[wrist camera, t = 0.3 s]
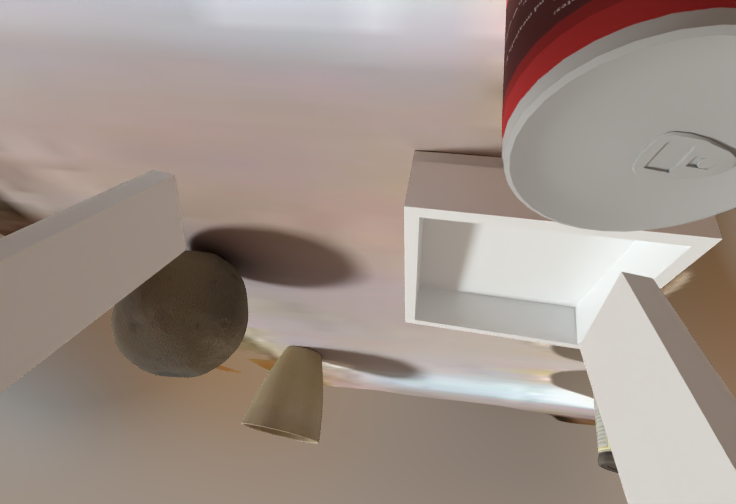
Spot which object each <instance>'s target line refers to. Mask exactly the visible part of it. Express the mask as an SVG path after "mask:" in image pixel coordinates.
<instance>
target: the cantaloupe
mask: <svg viewBox="0 0 736 504" xmlns="http://www.w3.org/2000/svg"><path fill="white" fill-rule="evenodd" d="M111 321H112V331H113V336H114V340H115V343H116V345H117V347H118V349H119V351H120V352H121V353H122V354H123V355H124V356H125V357H126V358H127V359H129V360H130V361H131V362H132V363H133V364H134V365H136V366H138V367H139V368H141V369H142V370H144V371H147V372H149V373H152V374H155V375H159V376H168V377H187V378H188V377H196V376H200V375H203V374H205V373H207V372H209V371H211V370H213V369H215V368H216V367H218V366H219V365H221V364H222V363H223V362H225V361H226V360H227V359H228V358H229V357H230V356H231V355H232V354H233V353H234V352H235V350H236V349H237V348H238V347H239V345H240V343H241V341H242V339H243V337H244V335H245V332H246V328H247V323H248V303H247V293H246V288H245V285H244V282H243V280H242V278H241V276H240V275H239V273H238V271H237V270H236V269H235V268H234V267H233V266H232V265H231V264H230V263H228V262H227V261H226V260H224V259H223V258H221V257H220V256H218V255H216V254H213V253H210V252H202V251H184V252H183V253H181V254H180V255H179V256H177V257H176V258H175V259H174V260H172V261H171V262H170V263H168V264H167V265H166V266H165V267H163V268H162V269H161V270H159V271H158V272H157V273H155V274H154V275H153V276H152V277H150V278H149V279H148V280H146V281H145V282H144V283H143V284H141V285H140V286H139V287H137V288H136V289H135V290H133V291H132V292H131V293H130V294H128V295H127V296H126V297H124V298H123V299H122V300H121V301H119V302H118V303H117V304H115V306H114V309H113V313H112V319H111Z"/></svg>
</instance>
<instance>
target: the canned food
mask: <svg viewBox="0 0 736 504" xmlns="http://www.w3.org/2000/svg"><path fill="white" fill-rule="evenodd" d="M502 159H503V163H504V172H505V175H506V179H507V182H508V185H509V186H510V188H511V190H512V191H513V193H514V194H515V196H516V197H517V198H518V199H519V200H520V201H521V202H522V203H523V204H524V205H526V206H527V207H528V208H529V209H531V210H532V211H534V212H536V213H537V214H539V215H541V216H542V217H545V218H547V219H550V220H552V221H555V222H557V223H560V224H564V225H568V226H572V227H576V228H580V229H589V230H597V231H620V232H628V231H642V230H654V229H660V228H666V227H672V226H678V225H682V224H686V223H690V222H694V221H698V220H702V219H706V218H709V217H712V216H715V215H718V214H720V213H723V212H726V211H729V210H732V209H735V208H736V0H507V5H506V32H505V58H504V84H503V110H502Z"/></svg>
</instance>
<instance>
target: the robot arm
mask: <svg viewBox="0 0 736 504" xmlns="http://www.w3.org/2000/svg"><path fill="white" fill-rule="evenodd" d="M185 250H187V249H186V243H185V236H184V230H183V223H182V217H181V211H180V204H179V198H178V192H177V185H176V179H175V175H174V174H170V173H165V172H160V171H156V170H152V171H150V172H147V173H145V174H143V175H141V176H138V177H136V178H134V179H132V180H130V181H127V182H125V183H123V184H121V185H118V186H116V187H114V188H112V189H109V190H107V191H105V192H103V193H101V194H98V195H96V196H94V197H92V198H89V199H87V200H85V201H83V202H81V203H78V204H76V205H74V206H72V207H69V208H67V209H65V210H63V211H61V212H58V213H56V214H54V215H52V216H49V217H47V218H45V219H43V220H41V221H38V222H36V223H34V224H32V225H29V226H27V227H25V228H23V229H20V230H18V231H16V232H14V233H12V234H9V235H7V236H5V237H3V238H0V393H1V392H3V391H4V390H5V389H7V388H8V387H9V386H10V385H12V384H13V383H14V382H16V381H17V380H18V379H20V378H21V377H22V376H23V375H25V374H26V373H27V372H29V371H30V370H31V369H33V368H34V367H35V366H36V365H38V364H39V363H40V362H41V361H43V360H44V359H45V358H47V357H48V356H49V355H51V354H52V353H53V352H55V351H56V350H57V349H58V348H60V347H61V346H62V345H64V344H65V343H66V342H67V341H69V340H70V339H71V338H73V337H74V336H75V335H77V334H78V333H79V332H80V331H82V330H83V329H84V328H85V327H87V326H88V325H89V324H90V323H92V322H93V321H95V320H96V319H97V318H99V317H100V316H101V315H102V314H104V313H105V312H106V311H107V310H109V309H110V308H111V307H113V306H114V305H115V304H117V303H118V302H119V301H121V300H122V299H123V298H124V297H126V296H127V295H128V294H130V293H131V292H132V291H133V290H135V289H136V288H137V287H139V286H140V285H141V284H143V283H144V282H145V281H146V280H148V279H149V278H150V277H152V276H153V275H154V274H155V273H157V272H158V271H159V270H161V269H162V268H163V267H165V266H166V265H167V264H168V263H170V262H171V261H172V260H174V259H175V258H176V257H177V256H179V255H180V254H181V253H183V252H184V251H185ZM579 347H580V350H581V354H582V357H583V360H584V363H585V367H586V370H587V373H588V376H589V380H590V383H591V386H592V389H593V392H594V396H595V399H596V402H597V405H598V409H599V412H600V415H601V418H602V422H603V425H604V428H605V431H606V435H607V438H608V441H609V444H610V447H611V451H612V454H613V457H614V460H615V464H616V467H617V470H618V473H619V476H620V479H621V483H622V486H623V489H624V493H625V496H626V499H627V502H628V504H736V400H735V398H734V397H733V395H732V394H731V392H730V391H729V390H728V388H727V386H726V385H725V384H724V382H723V381H722V379H721V378H720V376H719V375H718V373H717V372H716V370H715V369H714V367H713V366H712V364H711V363H710V362H709V360H708V359H707V357H706V356H705V354H704V353H703V351H702V350H701V348H700V347H699V345H698V344H697V342H696V341H695V339H694V338H693V337H692V335H691V334H690V332H689V331H688V329H687V328H686V326H685V325H684V323H683V322H682V321H681V319H680V317H679V316H678V315H677V313H676V312H675V310H674V309H673V307H672V306H671V304H670V303H669V301H668V300H667V298H666V297H665V295H664V294H663V292H662V291H661V290H660V288H659V287H658V285H657V284H656V282H655V281H654V279H653V278H649V277H644V276H640V275H635V274H631V273H626V272H621V273H620V275H619V277H618V279H617V281H616V282H615V284H614V286H613V288H612V289H611V291H610V293H609V295H608V297H607V298H606V300H605V302H604V304H603V305H602V307H601V309H600V311H599V312H598V314H597V316H596V318H595V320H594V321H593V323H592V325H591V327H590V328H589V330H588V332H587V334H586V336H585V337H584V339H583V341H582V343H581V344H580V346H579Z"/></svg>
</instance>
